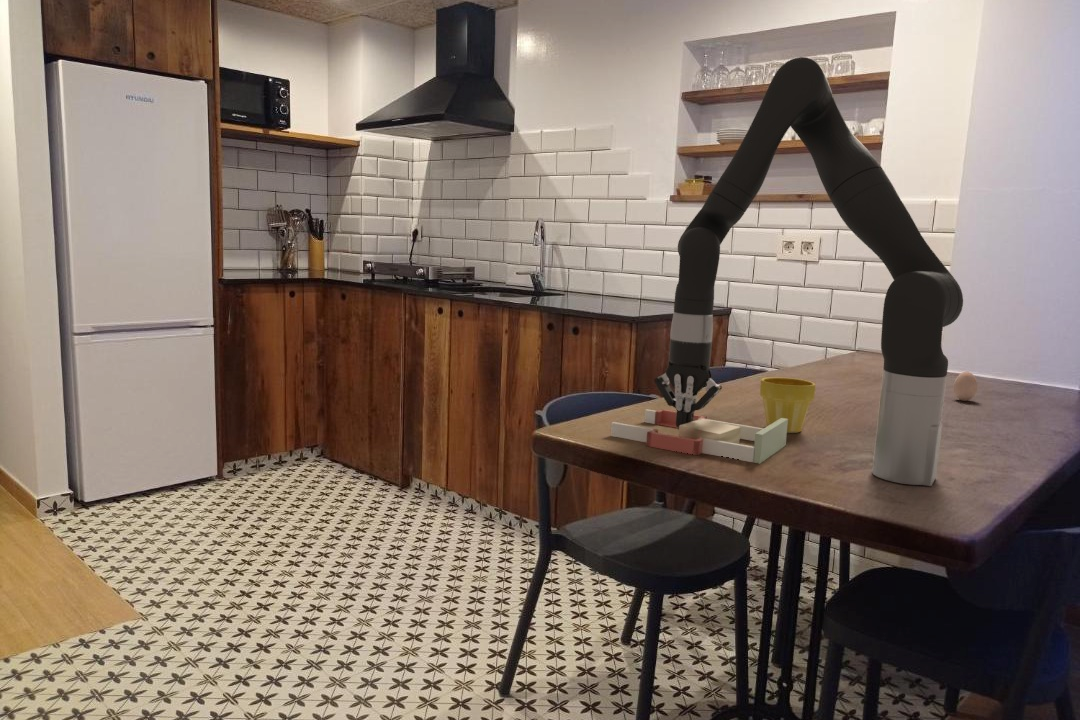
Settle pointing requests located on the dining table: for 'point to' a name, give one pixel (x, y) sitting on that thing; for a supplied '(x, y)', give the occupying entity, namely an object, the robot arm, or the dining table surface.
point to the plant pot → (787, 400)
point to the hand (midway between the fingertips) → (683, 430)
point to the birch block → (710, 431)
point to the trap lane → (764, 438)
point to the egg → (965, 386)
